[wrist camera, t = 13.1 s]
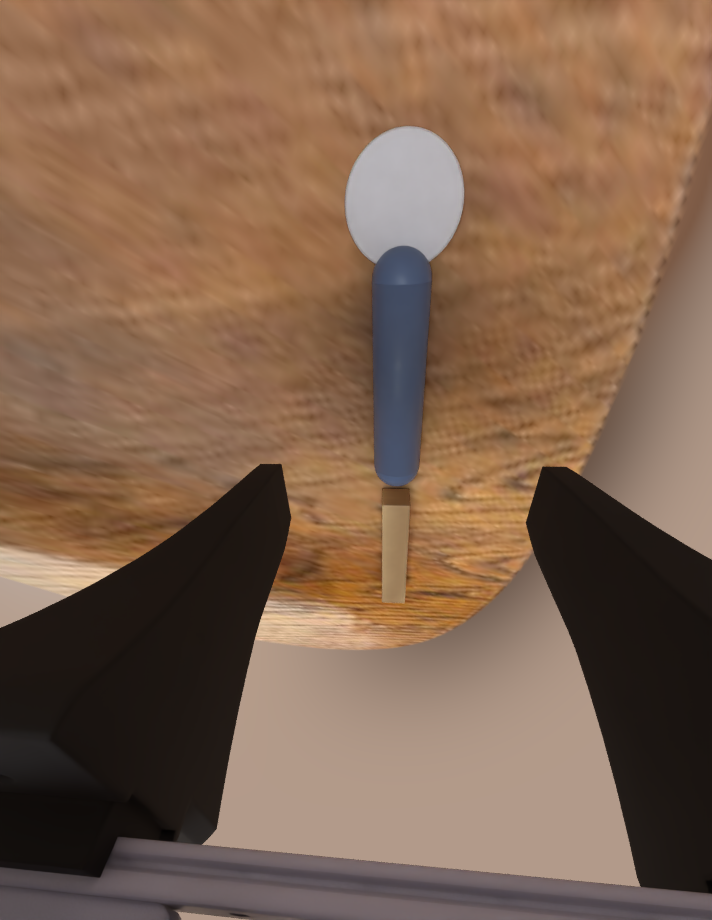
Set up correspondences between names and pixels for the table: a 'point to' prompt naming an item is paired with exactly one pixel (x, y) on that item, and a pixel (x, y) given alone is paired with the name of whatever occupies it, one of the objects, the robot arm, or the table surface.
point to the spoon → (402, 275)
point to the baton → (394, 543)
